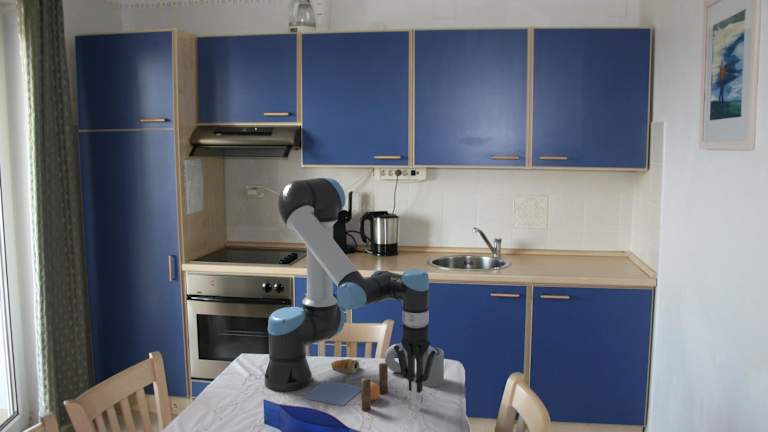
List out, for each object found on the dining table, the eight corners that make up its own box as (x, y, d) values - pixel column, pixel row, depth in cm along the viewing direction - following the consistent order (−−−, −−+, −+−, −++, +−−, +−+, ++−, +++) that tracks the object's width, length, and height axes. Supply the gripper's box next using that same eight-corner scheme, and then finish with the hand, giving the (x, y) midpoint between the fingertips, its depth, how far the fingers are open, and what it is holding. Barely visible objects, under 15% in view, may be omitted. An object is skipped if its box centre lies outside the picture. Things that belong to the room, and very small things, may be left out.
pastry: (327, 371, 222) (327, 360, 222) (336, 364, 229) (335, 353, 228) (353, 375, 219) (353, 364, 219) (361, 368, 225) (361, 357, 225)
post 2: (377, 393, 204) (377, 365, 202) (381, 390, 206) (381, 362, 205) (385, 394, 203) (385, 366, 201) (389, 391, 205) (388, 363, 204)
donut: (414, 370, 222) (414, 342, 220) (414, 374, 218) (414, 345, 217) (384, 370, 222) (384, 341, 221) (384, 374, 219) (384, 345, 217)
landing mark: (302, 398, 201) (302, 397, 201) (324, 381, 213) (324, 380, 213) (343, 405, 195) (343, 405, 195) (363, 388, 208) (363, 387, 208)
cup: (441, 387, 208) (442, 357, 206) (415, 385, 209) (415, 355, 208) (444, 377, 216) (445, 348, 214) (419, 375, 218) (419, 346, 216)
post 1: (360, 410, 192) (359, 380, 191) (364, 406, 195) (363, 377, 193) (368, 411, 191) (368, 382, 190) (372, 408, 194) (371, 378, 192)
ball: (355, 396, 198) (363, 382, 196) (363, 389, 203) (370, 375, 201) (370, 407, 196) (377, 393, 195) (377, 400, 201) (385, 386, 200)
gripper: (389, 325, 189) (389, 403, 193) (432, 330, 184) (432, 411, 187) (399, 317, 196) (399, 393, 199) (441, 322, 191) (440, 400, 194)
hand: (415, 401), depth 193 cm, fingers closed
